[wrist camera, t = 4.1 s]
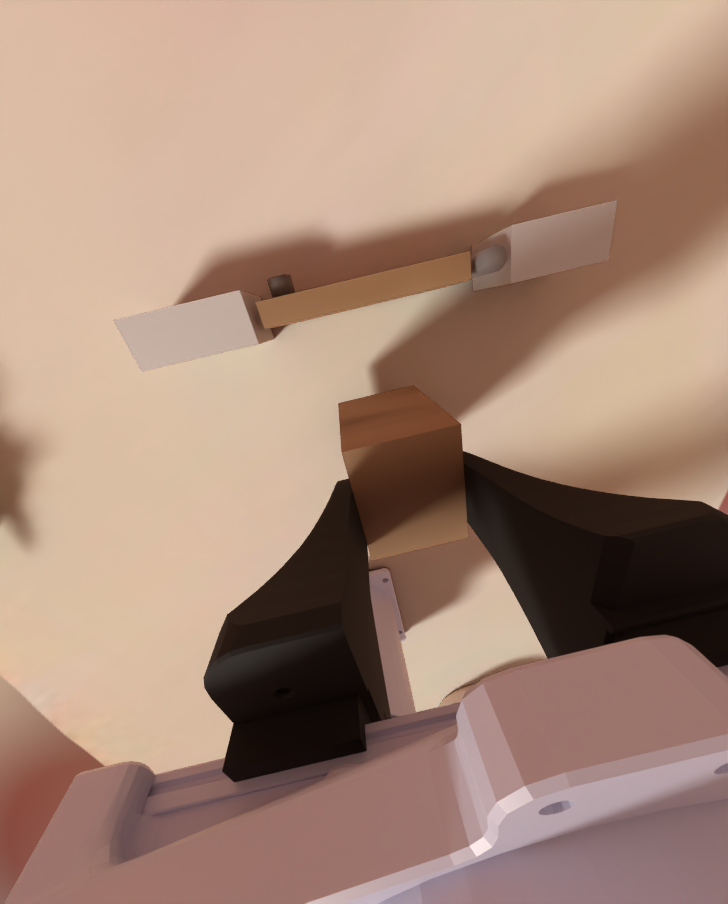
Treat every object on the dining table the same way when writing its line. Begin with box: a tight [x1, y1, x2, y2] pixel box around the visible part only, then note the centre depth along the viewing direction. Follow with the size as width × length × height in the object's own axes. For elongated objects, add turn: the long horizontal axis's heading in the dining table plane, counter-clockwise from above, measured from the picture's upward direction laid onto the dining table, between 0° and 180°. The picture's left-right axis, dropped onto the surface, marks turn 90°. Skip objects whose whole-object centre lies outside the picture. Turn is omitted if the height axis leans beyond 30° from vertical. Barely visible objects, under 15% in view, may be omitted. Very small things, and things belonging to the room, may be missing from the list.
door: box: [255, 251, 471, 329], centre depth 13 cm, size 2×9×3 cm, turn 102°
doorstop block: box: [338, 385, 468, 561], centre depth 13 cm, size 5×4×6 cm
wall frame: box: [113, 200, 617, 372], centre depth 13 cm, size 2×20×4 cm, turn 102°
